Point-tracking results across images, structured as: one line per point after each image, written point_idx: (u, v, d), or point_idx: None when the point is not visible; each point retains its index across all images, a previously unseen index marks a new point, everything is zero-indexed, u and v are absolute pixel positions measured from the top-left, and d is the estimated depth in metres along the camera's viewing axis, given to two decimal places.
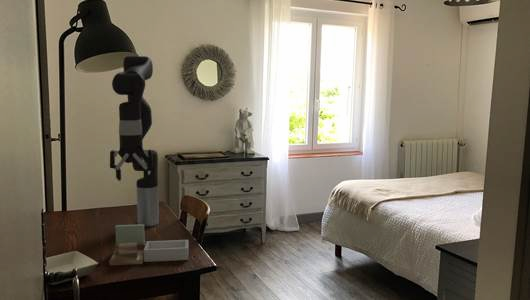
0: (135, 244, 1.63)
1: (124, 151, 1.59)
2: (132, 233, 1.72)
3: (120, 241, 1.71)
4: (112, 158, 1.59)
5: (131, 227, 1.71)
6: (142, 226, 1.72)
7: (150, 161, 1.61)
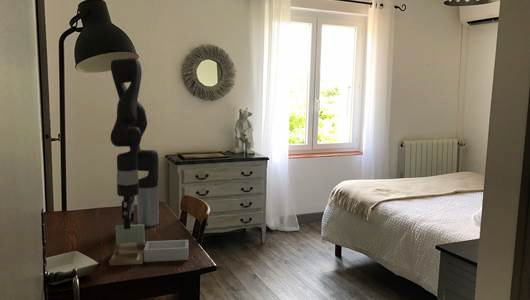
0: (135, 244, 1.63)
1: (130, 199, 1.68)
2: (132, 233, 1.72)
3: (120, 241, 1.71)
4: (129, 208, 1.65)
5: (131, 227, 1.71)
6: (142, 226, 1.72)
7: None
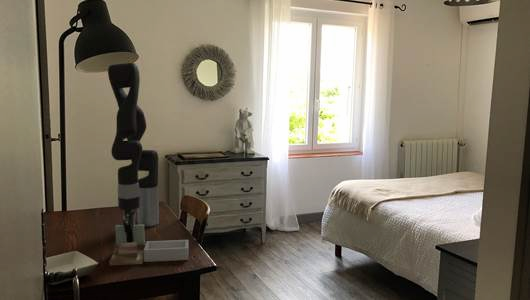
0: (135, 244, 1.63)
1: (131, 212, 1.69)
2: None
3: (120, 241, 1.71)
4: (131, 224, 1.67)
5: None
6: (142, 226, 1.72)
7: None
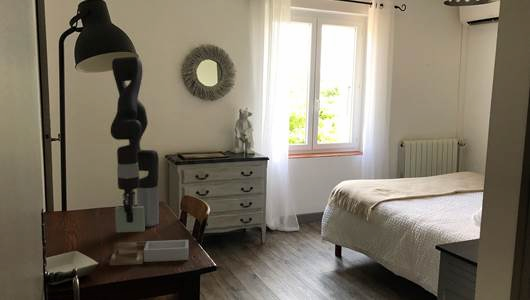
0: (135, 244, 1.63)
1: (131, 191, 1.68)
2: None
3: (119, 223, 1.71)
4: (131, 204, 1.66)
5: None
6: (142, 208, 1.71)
7: None
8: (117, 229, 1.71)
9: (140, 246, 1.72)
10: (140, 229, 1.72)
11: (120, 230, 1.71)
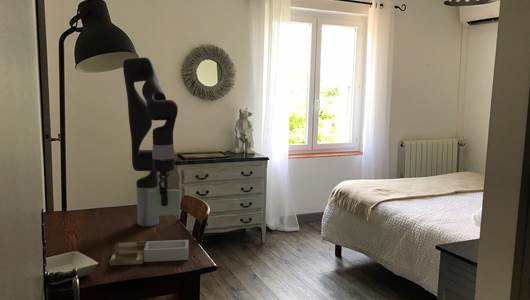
0: (135, 244, 1.63)
1: (166, 174, 1.63)
2: None
3: (154, 206, 1.66)
4: (166, 187, 1.62)
5: None
6: (177, 191, 1.67)
7: None
8: (151, 212, 1.66)
9: (140, 246, 1.72)
10: (175, 213, 1.68)
11: (154, 214, 1.67)
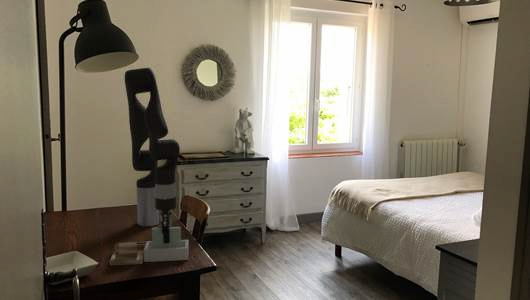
0: (135, 244, 1.63)
1: (168, 212, 1.65)
2: None
3: (156, 244, 1.68)
4: (168, 225, 1.64)
5: None
6: (179, 229, 1.69)
7: None
8: None
9: (140, 246, 1.72)
10: None
11: None
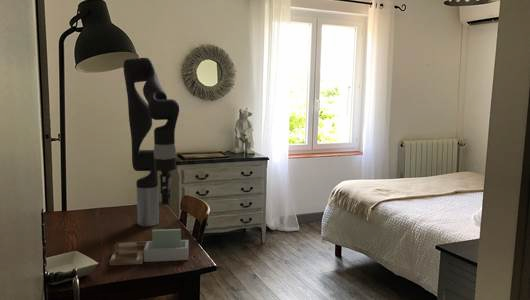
0: (135, 244, 1.63)
1: (168, 174, 1.64)
2: (169, 238, 1.69)
3: (156, 246, 1.69)
4: (167, 183, 1.60)
5: (168, 232, 1.68)
6: (179, 231, 1.69)
7: None
8: None
9: (140, 246, 1.72)
10: None
11: None
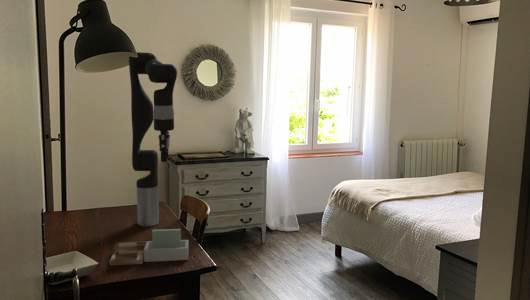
0: (135, 244, 1.63)
1: (166, 134, 1.76)
2: (169, 238, 1.69)
3: (156, 246, 1.69)
4: (166, 141, 1.72)
5: (168, 232, 1.68)
6: (179, 231, 1.69)
7: None
8: None
9: (140, 246, 1.72)
10: None
11: None
